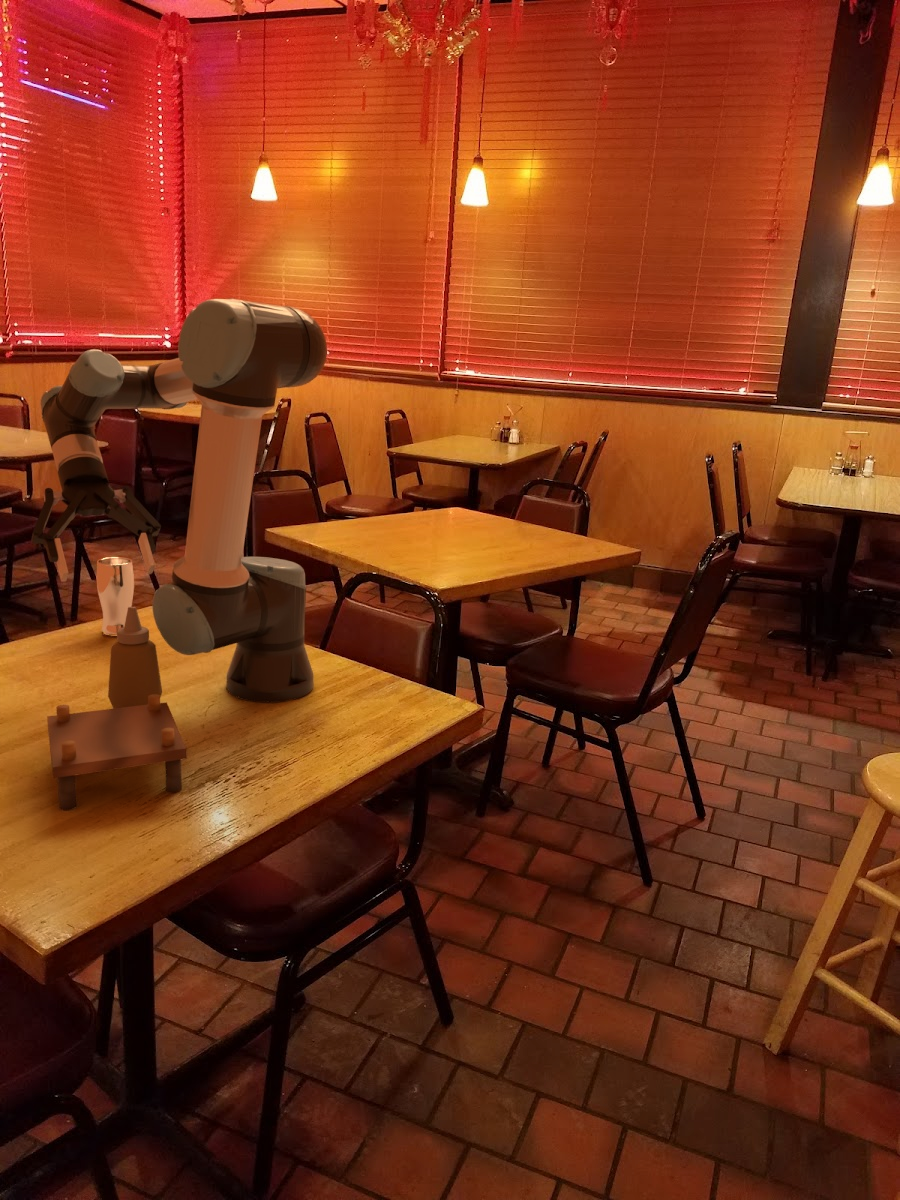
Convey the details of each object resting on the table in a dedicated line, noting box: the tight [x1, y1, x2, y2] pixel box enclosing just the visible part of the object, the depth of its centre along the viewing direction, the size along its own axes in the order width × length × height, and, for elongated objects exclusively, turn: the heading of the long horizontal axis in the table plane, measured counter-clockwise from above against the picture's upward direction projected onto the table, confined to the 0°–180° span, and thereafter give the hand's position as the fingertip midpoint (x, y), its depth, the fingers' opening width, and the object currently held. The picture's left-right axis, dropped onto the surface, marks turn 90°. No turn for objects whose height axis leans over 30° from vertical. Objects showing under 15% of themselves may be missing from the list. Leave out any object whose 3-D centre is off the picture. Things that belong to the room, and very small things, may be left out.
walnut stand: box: [46, 694, 188, 811], centre depth 114 cm, size 16×16×8 cm
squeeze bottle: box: [107, 606, 163, 709], centre depth 132 cm, size 8×8×18 cm
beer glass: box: [96, 556, 135, 635], centre depth 169 cm, size 7×7×15 cm
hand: (109, 573), depth 137 cm, fingers open, 13 cm apart
